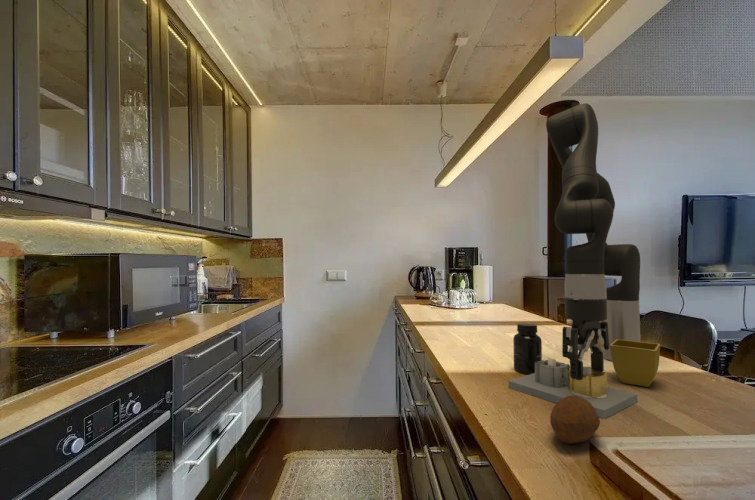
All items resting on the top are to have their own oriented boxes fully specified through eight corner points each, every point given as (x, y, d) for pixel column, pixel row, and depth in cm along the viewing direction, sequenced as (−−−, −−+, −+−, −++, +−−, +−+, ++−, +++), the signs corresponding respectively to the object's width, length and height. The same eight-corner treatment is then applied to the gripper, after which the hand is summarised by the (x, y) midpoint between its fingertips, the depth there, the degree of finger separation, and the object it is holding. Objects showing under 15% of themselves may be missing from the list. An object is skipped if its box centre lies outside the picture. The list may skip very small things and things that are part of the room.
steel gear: (547, 376, 84) (546, 359, 84) (572, 383, 79) (571, 364, 80) (532, 381, 81) (532, 363, 81) (557, 388, 76) (557, 369, 76)
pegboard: (543, 376, 89) (543, 349, 90) (637, 401, 73) (636, 369, 73) (508, 387, 81) (508, 358, 82) (604, 418, 65) (603, 382, 65)
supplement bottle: (545, 375, 90) (544, 327, 90) (516, 374, 91) (515, 326, 92) (538, 367, 97) (537, 322, 97) (511, 366, 98) (510, 322, 98)
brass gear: (580, 385, 78) (579, 366, 78) (609, 392, 73) (609, 372, 73) (566, 390, 75) (565, 370, 75) (595, 399, 70) (595, 378, 70)
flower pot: (610, 383, 84) (608, 344, 84) (617, 374, 90) (616, 338, 91) (657, 392, 78) (656, 350, 78) (662, 382, 84) (660, 343, 85)
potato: (603, 431, 60) (602, 389, 60) (597, 463, 51) (596, 413, 51) (558, 421, 64) (557, 382, 64) (545, 449, 55) (544, 402, 55)
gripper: (583, 293, 82) (585, 365, 81) (548, 296, 74) (550, 376, 73) (620, 295, 76) (623, 373, 75) (586, 299, 68) (589, 387, 67)
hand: (587, 375), depth 74 cm, fingers open, 8 cm apart
